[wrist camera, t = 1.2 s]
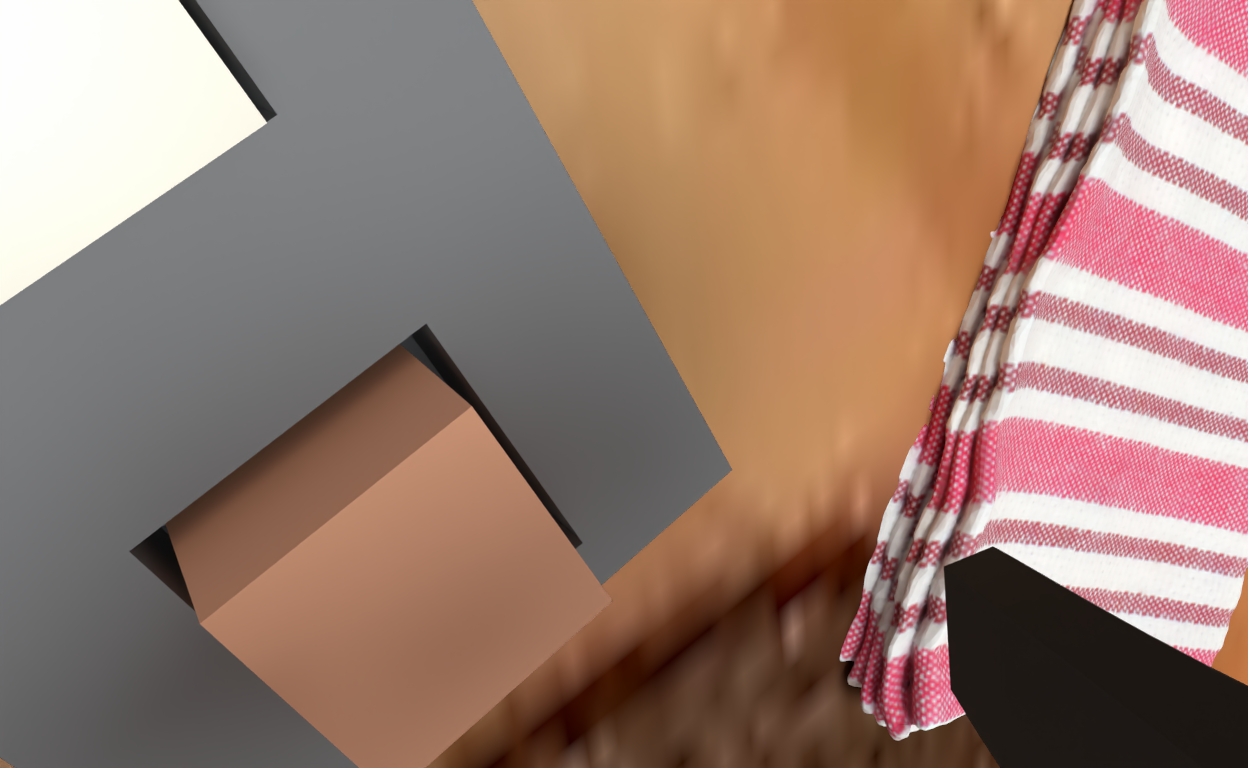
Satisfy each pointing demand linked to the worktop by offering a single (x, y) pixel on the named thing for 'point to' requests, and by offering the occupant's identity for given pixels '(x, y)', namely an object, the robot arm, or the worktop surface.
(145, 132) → the cream button
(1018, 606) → the robot arm
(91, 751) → the button console
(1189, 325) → the dish towel
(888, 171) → the worktop surface
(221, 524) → the terracotta button
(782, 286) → the worktop surface
